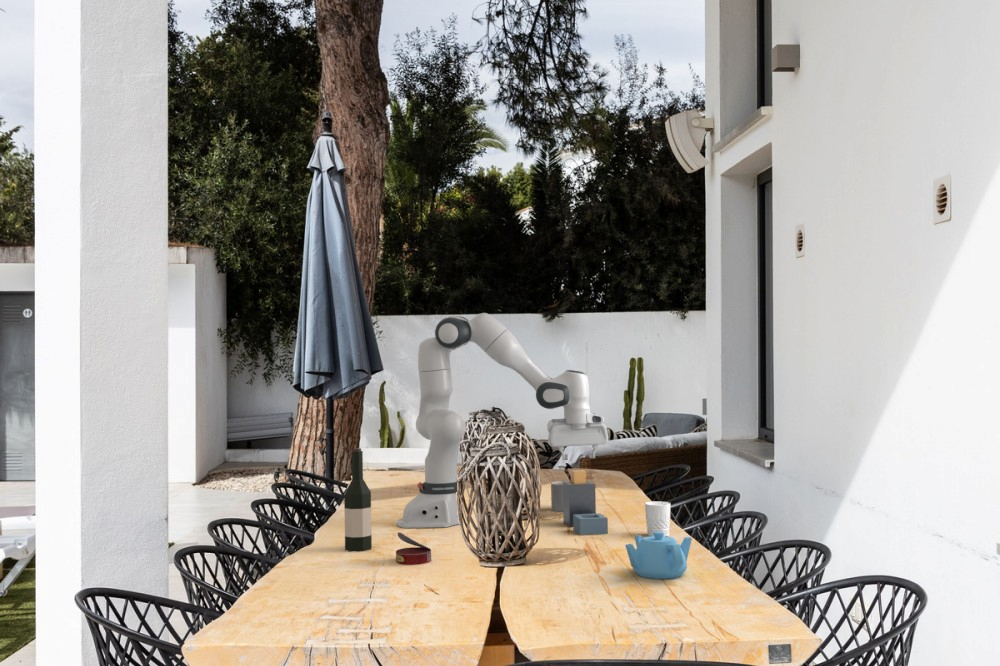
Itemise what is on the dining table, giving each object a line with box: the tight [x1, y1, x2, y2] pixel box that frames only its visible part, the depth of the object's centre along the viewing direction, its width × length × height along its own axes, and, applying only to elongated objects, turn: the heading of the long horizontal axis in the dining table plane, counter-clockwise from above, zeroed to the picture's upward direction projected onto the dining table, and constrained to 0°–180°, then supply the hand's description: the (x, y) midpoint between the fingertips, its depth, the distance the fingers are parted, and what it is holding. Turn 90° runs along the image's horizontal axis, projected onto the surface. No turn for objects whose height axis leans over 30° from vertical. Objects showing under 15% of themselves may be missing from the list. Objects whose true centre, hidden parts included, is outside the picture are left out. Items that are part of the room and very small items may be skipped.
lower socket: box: [572, 512, 609, 536], centre depth 298 cm, size 9×9×5 cm
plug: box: [570, 469, 587, 484], centre depth 312 cm, size 4×4×7 cm
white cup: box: [644, 500, 671, 537], centre depth 290 cm, size 8×8×10 cm
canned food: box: [395, 532, 432, 566], centre depth 260 cm, size 11×10×10 cm
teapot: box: [625, 532, 693, 580], centre depth 239 cm, size 15×15×11 cm
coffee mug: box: [550, 480, 564, 513], centre depth 342 cm, size 13×10×10 cm
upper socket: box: [562, 479, 597, 528], centre depth 312 cm, size 9×9×14 cm
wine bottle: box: [343, 447, 373, 552], centre depth 278 cm, size 8×8×30 cm
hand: (578, 459), depth 312 cm, fingers open, 8 cm apart
